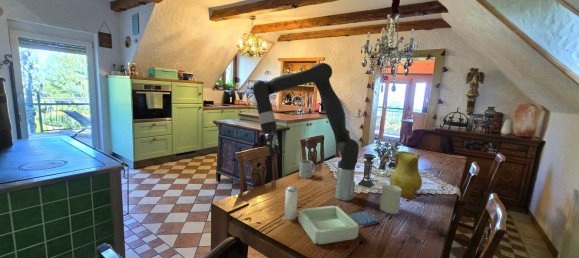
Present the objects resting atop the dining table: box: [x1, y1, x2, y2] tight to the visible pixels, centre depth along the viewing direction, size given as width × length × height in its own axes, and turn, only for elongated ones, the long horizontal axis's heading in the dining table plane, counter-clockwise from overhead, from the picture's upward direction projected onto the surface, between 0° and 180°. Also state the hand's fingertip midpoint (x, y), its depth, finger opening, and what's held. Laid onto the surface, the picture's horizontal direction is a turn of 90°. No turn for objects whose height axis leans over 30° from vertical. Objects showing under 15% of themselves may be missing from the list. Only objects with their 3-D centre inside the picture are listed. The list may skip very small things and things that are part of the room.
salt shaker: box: [283, 185, 299, 221], centre depth 116 cm, size 5×5×14 cm
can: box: [379, 184, 402, 215], centre depth 129 cm, size 9×9×12 cm
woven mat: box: [347, 210, 379, 228], centre depth 118 cm, size 10×11×2 cm
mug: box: [298, 159, 316, 179], centre depth 174 cm, size 12×9×10 cm
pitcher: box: [389, 150, 423, 199], centre depth 151 cm, size 17×19×25 cm
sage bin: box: [298, 205, 360, 245], centre depth 109 cm, size 19×19×5 cm
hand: (275, 155), depth 122 cm, fingers open, 8 cm apart
